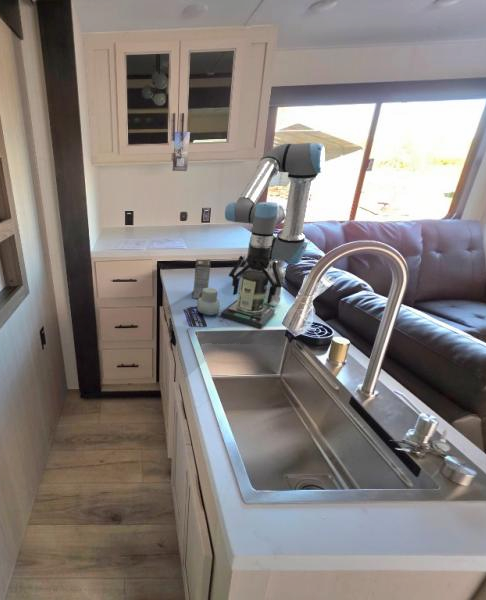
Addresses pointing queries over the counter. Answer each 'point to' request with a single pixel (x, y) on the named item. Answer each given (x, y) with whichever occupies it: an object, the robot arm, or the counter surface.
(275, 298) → the plastic bottle
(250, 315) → the scale pan
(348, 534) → the counter surface
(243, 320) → the scale
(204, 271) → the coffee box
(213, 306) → the air freshener
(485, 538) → the counter surface
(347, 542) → the counter surface
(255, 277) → the coffee can
